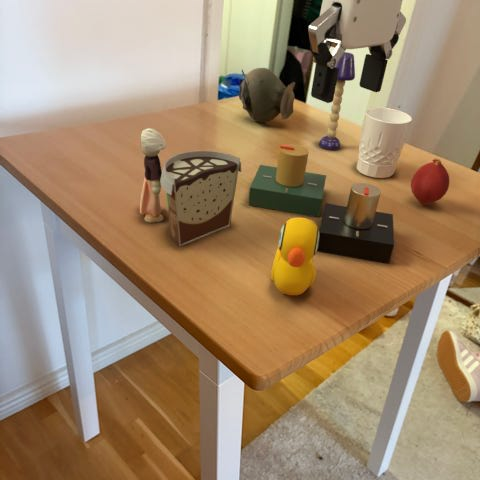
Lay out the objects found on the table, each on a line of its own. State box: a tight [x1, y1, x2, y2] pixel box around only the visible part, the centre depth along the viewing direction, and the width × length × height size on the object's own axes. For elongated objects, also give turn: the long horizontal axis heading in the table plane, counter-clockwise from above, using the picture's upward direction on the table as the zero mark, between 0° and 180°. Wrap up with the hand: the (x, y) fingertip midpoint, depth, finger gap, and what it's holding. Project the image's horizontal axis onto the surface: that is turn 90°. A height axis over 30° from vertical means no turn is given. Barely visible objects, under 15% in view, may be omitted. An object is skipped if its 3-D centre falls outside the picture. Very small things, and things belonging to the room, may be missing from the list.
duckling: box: [270, 217, 320, 296], centre depth 62 cm, size 11×5×10 cm, turn 171°
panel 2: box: [316, 202, 395, 264], centre depth 75 cm, size 10×9×3 cm
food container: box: [160, 150, 242, 248], centre depth 72 cm, size 12×6×10 cm, turn 134°
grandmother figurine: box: [139, 127, 167, 224], centre depth 73 cm, size 8×4×13 cm, turn 22°
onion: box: [410, 157, 450, 206], centre depth 85 cm, size 6×6×8 cm
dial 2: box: [344, 182, 382, 229], centre depth 72 cm, size 4×4×5 cm
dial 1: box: [276, 143, 310, 187], centre depth 81 cm, size 4×4×5 cm
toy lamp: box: [318, 51, 356, 151], centre depth 99 cm, size 5×5×17 cm
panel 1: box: [247, 164, 327, 218], centre depth 84 cm, size 11×9×3 cm
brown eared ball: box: [238, 67, 296, 123], centre depth 109 cm, size 10×12×10 cm
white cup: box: [356, 107, 413, 179], centre depth 93 cm, size 8×8×10 cm
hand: (346, 94), depth 68 cm, fingers open, 9 cm apart
